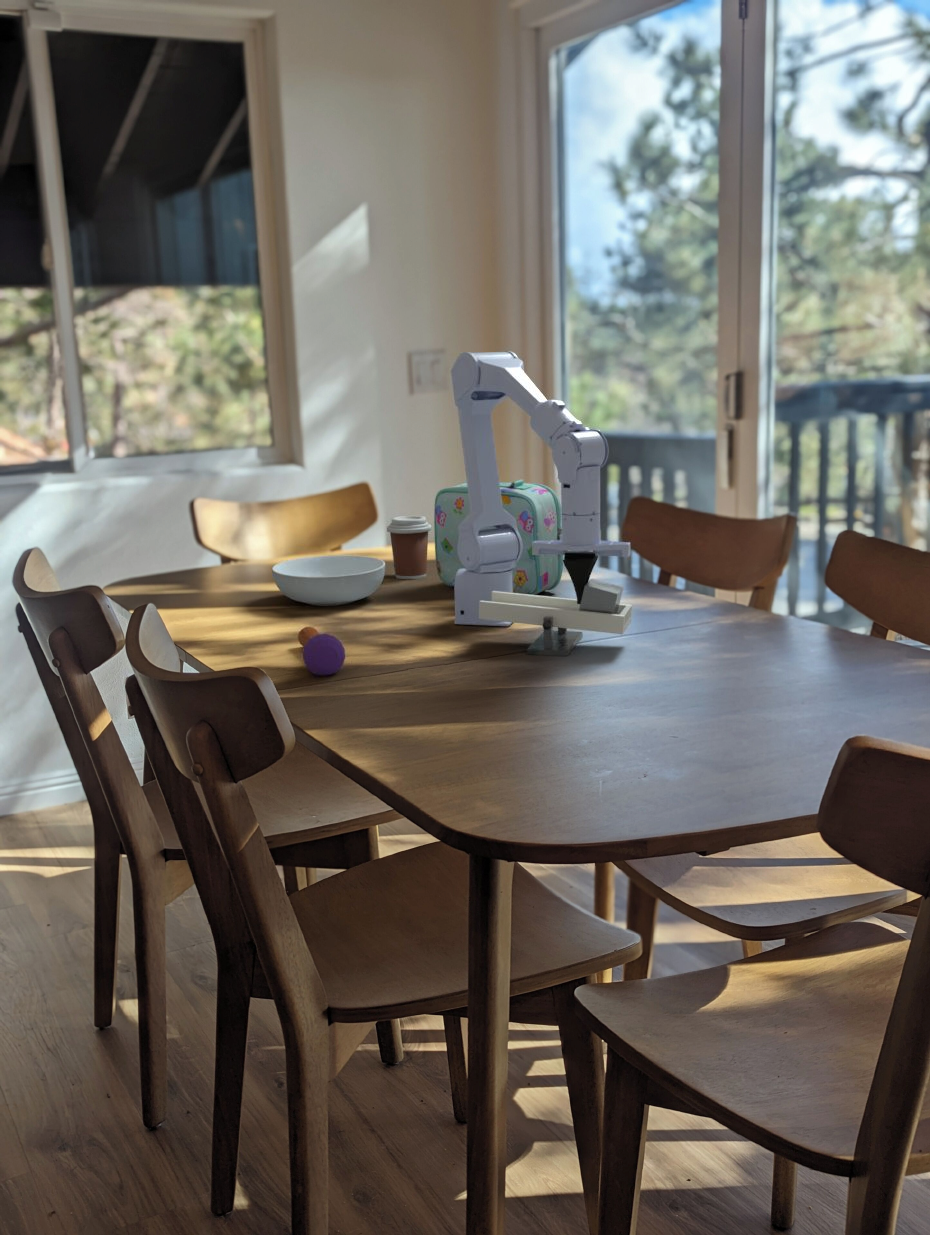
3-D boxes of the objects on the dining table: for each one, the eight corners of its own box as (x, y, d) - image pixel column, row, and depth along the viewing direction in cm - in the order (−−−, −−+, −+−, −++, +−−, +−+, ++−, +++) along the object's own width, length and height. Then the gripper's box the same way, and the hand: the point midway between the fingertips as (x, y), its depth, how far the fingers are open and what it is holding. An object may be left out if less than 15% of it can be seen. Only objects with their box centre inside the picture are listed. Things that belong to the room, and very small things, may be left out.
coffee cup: (379, 578, 232) (377, 519, 229) (405, 570, 239) (403, 514, 236) (417, 582, 227) (414, 522, 224) (441, 574, 234) (439, 516, 232)
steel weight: (578, 613, 170) (584, 585, 169) (585, 606, 175) (591, 578, 173) (610, 622, 169) (617, 594, 167) (616, 615, 173) (623, 587, 172)
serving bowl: (252, 609, 206) (249, 572, 205) (309, 587, 225) (307, 553, 223) (354, 616, 198) (352, 577, 197) (405, 592, 217) (404, 557, 216)
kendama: (329, 620, 179) (350, 639, 160) (325, 657, 179) (345, 681, 160) (291, 616, 177) (308, 635, 158) (287, 654, 178) (303, 677, 159)
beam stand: (527, 654, 170) (526, 618, 169) (545, 634, 181) (544, 601, 180) (566, 656, 168) (566, 619, 167) (582, 636, 179) (582, 602, 178)
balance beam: (478, 618, 173) (479, 601, 172) (492, 607, 180) (493, 590, 180) (622, 634, 167) (624, 616, 166) (631, 622, 175) (632, 604, 174)
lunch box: (574, 593, 212) (574, 478, 207) (541, 603, 204) (540, 484, 199) (464, 579, 229) (461, 472, 224) (430, 587, 221) (426, 477, 216)
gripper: (526, 516, 167) (528, 606, 170) (625, 517, 163) (625, 610, 166) (537, 509, 174) (538, 597, 177) (632, 510, 170) (632, 600, 173)
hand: (581, 602), depth 172 cm, fingers closed, pressing on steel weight
